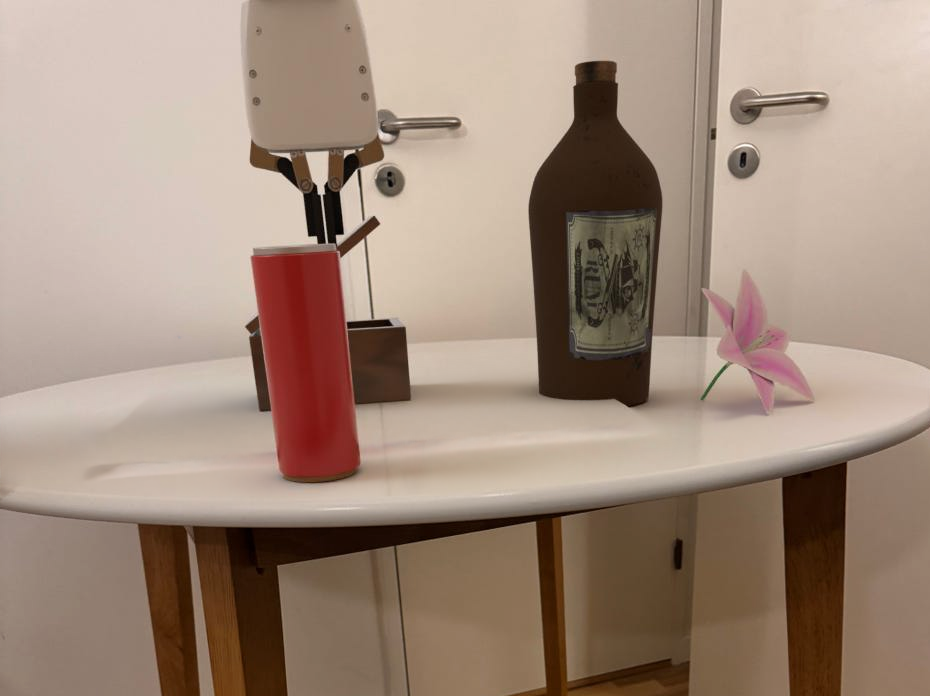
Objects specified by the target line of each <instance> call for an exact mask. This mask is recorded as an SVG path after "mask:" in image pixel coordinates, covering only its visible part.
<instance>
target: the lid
mask: <svg viewBox="0 0 930 696" xmlns="http://www.w3.org/2000/svg"><path fill="white" fill-rule="evenodd" d="M380 225H381V222H380V221H379V219H378V218H377V217H376V216H375V215H370V216H367V217H366V218H365V219H364V220H362V222H360V223H359V224H358V225H357V226H356V227H354V228H353V229H352V230H351V231H350V232H349V233H347V234H346V235H345V236H344V237H343V238H342V239H341V240H339V241H338V242H337V246H336V251H339V252H340V259H342V258H343V257H344V256H346V254H348V253H349V252H351V250H353V248H355V247H356V246H357V245H358V244H359V243H360V242H362V241H363V240H364V239H365V238H366V237H367V236H369V235H370V234H371V233H372V232H373V231H375V230H376V229H377V228H378V227H379V226H380ZM244 328H245V329H246V330H247V331H248V333H249V335H251V334H253V333H254V332H255V331H256V330H257V329H259V328H260V324H259V316H258V311H257V312H256V313H254V314H253V315H252V316H251V317H250V318H249V320H248V321H247V323H245V326H244Z"/></svg>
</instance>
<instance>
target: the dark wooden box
mask: <svg viewBox="0 0 930 696" xmlns="http://www.w3.org/2000/svg"><path fill="white" fill-rule="evenodd" d="M347 330H348V340H349V350H350V361H351V371H352V381H353V391H354V401H355V406H358V405H371V404H372V405H373V404H383V403H384V404H385V403H397V402H410V401H412V392H411V381H410V379H411V378H410V366H409V352H408V340H407V327H406V325H405V324H403V322H402V321H401V319H399V318H398V317H388V318H387V317H385V318H370V319H355V320H353V319H352V320H347ZM248 340H249V348H250V354H251V355H250V356H251V361H252V367H253V376H254V377H253V378H254V383H255V389H256V390H255V391H256V397H257V404H258V411H259V412H260V413H262V412H263V413H264V412H271V405H270V397H269V390H268V383H267V375H266V368H265V361H264V353H263V346H262V338H261V331H260V328H259V329H257V330H256V331H255V332H254V333H253V334H249V336H248Z"/></svg>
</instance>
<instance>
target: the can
mask: <svg viewBox="0 0 930 696" xmlns="http://www.w3.org/2000/svg"><path fill="white" fill-rule="evenodd" d="M252 253H253V254H251V255H250V258H249V259H250V263H251V265H250V266H251V269H252V270H251V271H252V278H253V279H252V280H253V287H254V293H255V294H254V295H255V300H256V307H257V312H258V316H259V324H260V331H261V338H262V346H263V353H264V361H265V368H266V375H267V383H268V390H269V397H270V405H271V411H270V412H271V419H272V426H273V433H274V440H275V446H276V447H275V448H276V455H277V462H278V471H279V472H280V473H281V474H282V475H283V474H286V475H290V476H297V477H318V476H328V475H335V474H340V473H344V472H348V471H351V470H353V469H355V468H357V469H358V467H360V465H361V463H362V462H361V453H360V443H359V442H360V441H359V433H358V432H359V431H358V423H357V414H356V413H357V411H356V405H355V401H354V391H353V381H352V371H351V361H350V350H349V340H348V330H347V321H348V320H347V312H346V311H347V310H346V302H345V301H346V300H345V292H344V282H343V281H344V280H343V271H342V262H341V261H342V260H341V258H340V252H339V251H336V244H328V243H326V244H317V243H311V244H310V243H308V244H287V245H273V246H272V245H271V246H259V247H252Z"/></svg>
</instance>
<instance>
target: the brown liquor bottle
mask: <svg viewBox="0 0 930 696" xmlns="http://www.w3.org/2000/svg"><path fill="white" fill-rule="evenodd" d="M617 71H618V63H617V62H616V61H614V60H590V61H583V62H579V63H577V64H575V65H574V76H575V85H573V86H572V89H573V91H572V92H573V94H572V95H573V96H572V97H573V119H572V123H571V124H570V126H569V128H568V129H567V131H566V132H565V133H564V135H563V136H562V137H561V139H560V140H559V142H558V143H557V144H556V146H554V148H553V150H551V152H549V155H548V156H547V157H546V158H545V159H544V161H543V162H542V164H541V166H540V167H539V168H538V170H537V172H536V174H535V176H534V179H533V182H532V186H531V190H530V193H529V200H528V209H527V210H528V227H529V240H530V241H529V242H530V255H531V269H532V270H531V271H532V285H533V299H534V315H535V316H534V317H535V332H536V333H535V334H536V350H537V351H536V352H537V353H536V354H537V372H538V373H537V375H538V376H537V377H538V392H539V393H538V394H539V395H541V396H543V397H545V398H549V399H550V398H551V399H556V400H565V401H606V400H615V401H617V402H618V403H620V404H622V405H625V407H631V406H636V405H639V404H642V403H645V402H646V401H647V400H648V399H649V397H650V385H651V384H650V382H651V366H652V365H651V364H652V348H653V331H654V318H655V307H656V305H655V304H656V292H657V280H658V277H657V276H658V265H659V255H660V254H659V253H660V244H661V243H660V242H661V241H660V240H661V230H662V219H663V204H664V203H663V201H664V200H663V192H662V187H661V183H660V179H659V175H658V171H657V169H656V167H655V165H654V164H653V162H652V161H651V159H650V158H649V157H648V155H647V154H646V152H644V150H643V149H642V148H641V147H640V146H639V144H638V143H637V142H636V141H635V140H634V139H633V137H632V136H631V135H630V134H629V132H628V131H627V130H626V129H625V128H624V126H623V125H622V124H621V122H620V120H619V118H618V101H619V100H618V98H619V83H618V82H616V78H617V76H616V75H617V73H618V72H617Z"/></svg>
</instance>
